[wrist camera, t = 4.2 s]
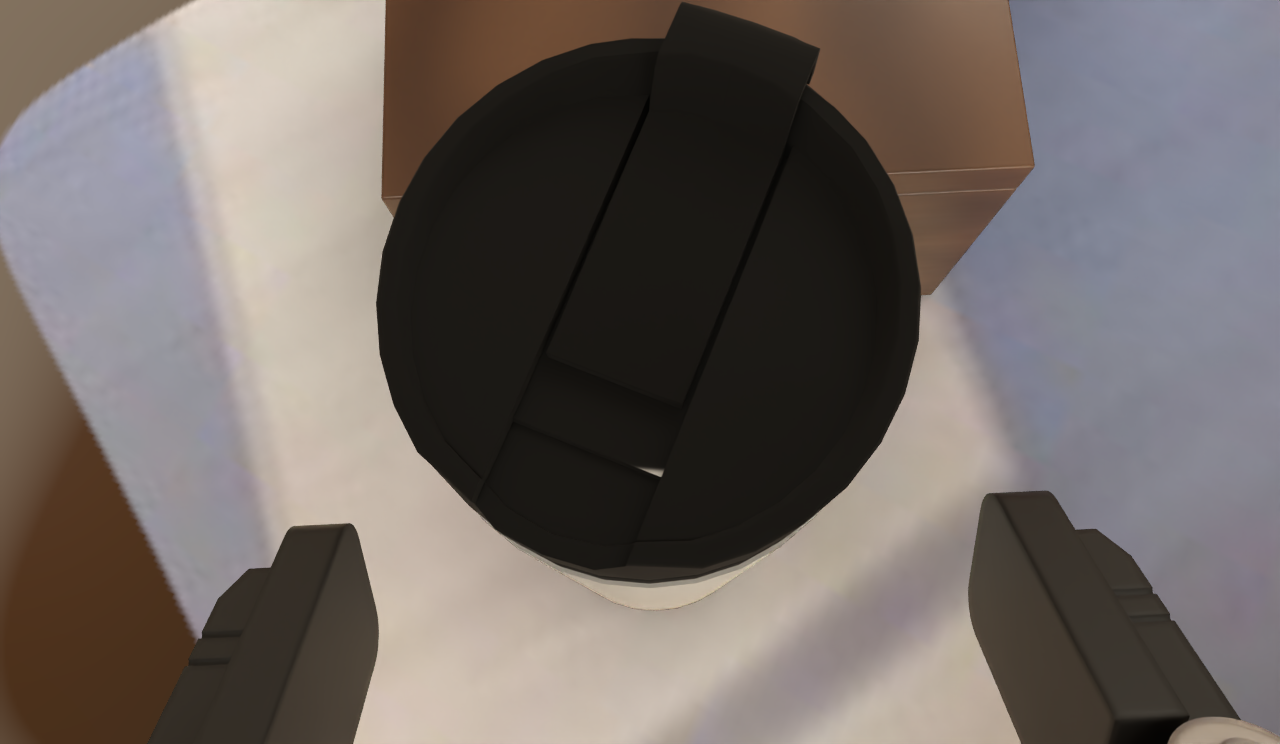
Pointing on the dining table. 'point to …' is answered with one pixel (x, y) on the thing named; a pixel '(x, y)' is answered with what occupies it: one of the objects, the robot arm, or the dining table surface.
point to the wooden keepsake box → (844, 76)
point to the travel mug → (651, 306)
